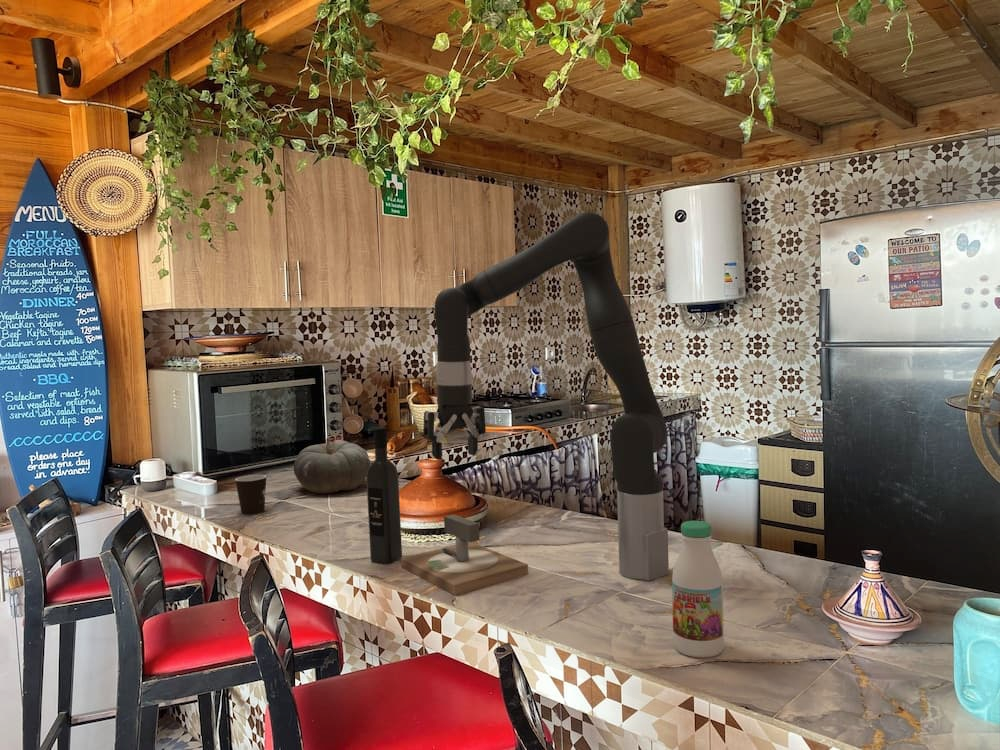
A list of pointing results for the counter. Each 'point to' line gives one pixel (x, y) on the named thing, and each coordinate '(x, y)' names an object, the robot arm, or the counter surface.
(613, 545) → the counter surface
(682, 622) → the milk bottle
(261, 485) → the coffee mug
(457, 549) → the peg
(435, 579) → the wooden base stand
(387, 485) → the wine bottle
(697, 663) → the counter surface
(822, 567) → the counter surface
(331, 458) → the gourd
